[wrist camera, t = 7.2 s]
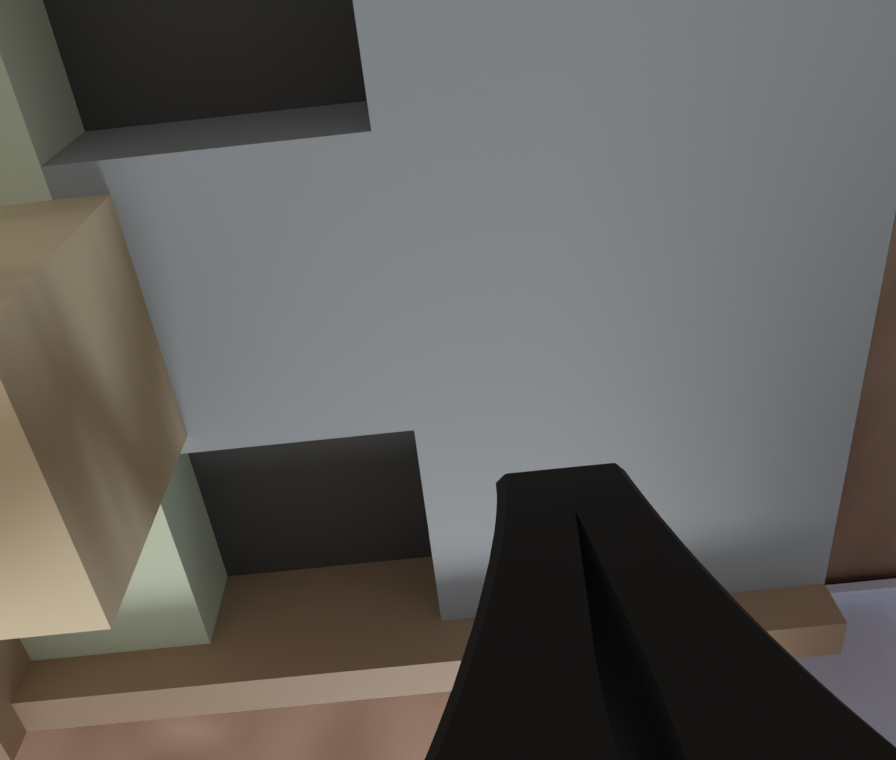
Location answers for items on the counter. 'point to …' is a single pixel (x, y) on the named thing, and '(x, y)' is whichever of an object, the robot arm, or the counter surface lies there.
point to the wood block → (76, 417)
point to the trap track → (455, 308)
